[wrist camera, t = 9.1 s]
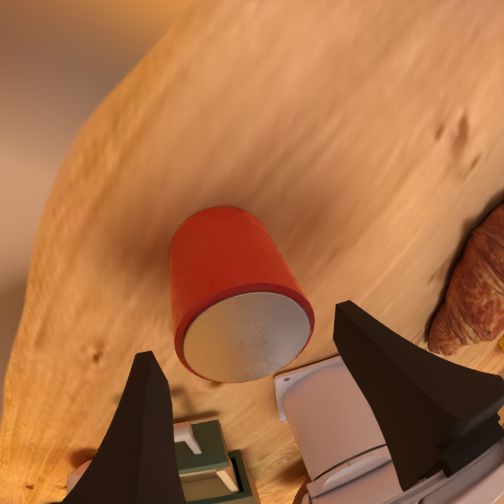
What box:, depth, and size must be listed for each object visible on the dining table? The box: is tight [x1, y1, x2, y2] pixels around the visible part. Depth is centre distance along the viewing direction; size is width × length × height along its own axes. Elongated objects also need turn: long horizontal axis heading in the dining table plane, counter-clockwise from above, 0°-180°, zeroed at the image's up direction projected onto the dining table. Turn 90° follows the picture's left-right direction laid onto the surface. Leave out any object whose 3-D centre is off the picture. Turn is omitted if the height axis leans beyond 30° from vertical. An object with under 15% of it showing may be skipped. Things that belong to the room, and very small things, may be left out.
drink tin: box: [169, 207, 315, 383], centre depth 15 cm, size 6×6×7 cm
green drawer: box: [173, 420, 242, 502], centre depth 25 cm, size 18×9×4 cm, turn 7°
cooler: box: [186, 450, 261, 504], centre depth 32 cm, size 15×11×6 cm
